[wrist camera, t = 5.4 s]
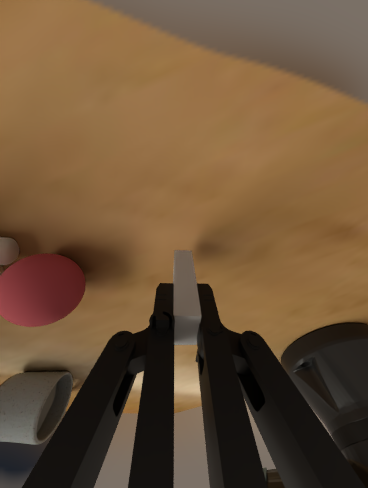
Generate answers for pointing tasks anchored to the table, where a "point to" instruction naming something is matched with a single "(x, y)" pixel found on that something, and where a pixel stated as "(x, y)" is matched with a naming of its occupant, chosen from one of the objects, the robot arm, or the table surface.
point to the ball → (40, 289)
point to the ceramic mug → (33, 405)
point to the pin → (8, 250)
